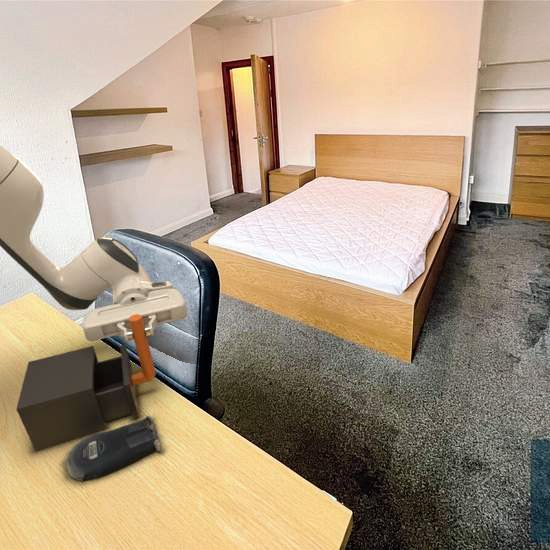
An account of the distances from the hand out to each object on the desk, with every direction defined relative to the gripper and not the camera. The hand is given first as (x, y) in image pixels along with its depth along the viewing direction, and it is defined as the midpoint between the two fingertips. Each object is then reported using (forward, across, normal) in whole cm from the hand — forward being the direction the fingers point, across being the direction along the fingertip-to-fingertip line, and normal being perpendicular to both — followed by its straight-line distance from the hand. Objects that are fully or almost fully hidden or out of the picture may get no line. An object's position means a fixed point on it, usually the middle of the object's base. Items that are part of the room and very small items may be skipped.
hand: (139, 335), depth 78 cm
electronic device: (+12, -8, +16) cm, 22 cm away
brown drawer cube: (-1, -16, +16) cm, 22 cm away
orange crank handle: (-1, -7, +14) cm, 16 cm away
